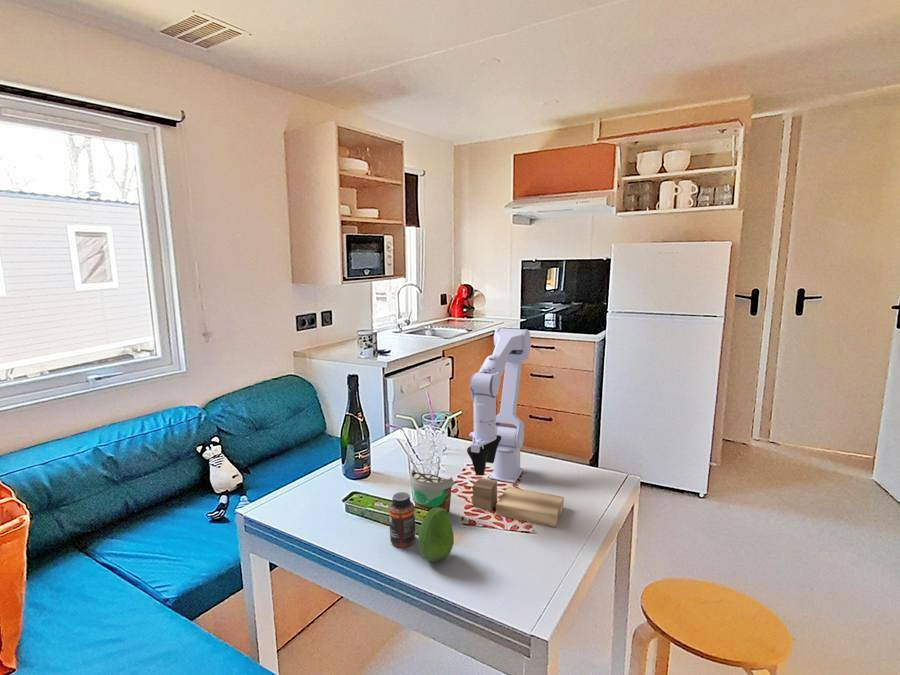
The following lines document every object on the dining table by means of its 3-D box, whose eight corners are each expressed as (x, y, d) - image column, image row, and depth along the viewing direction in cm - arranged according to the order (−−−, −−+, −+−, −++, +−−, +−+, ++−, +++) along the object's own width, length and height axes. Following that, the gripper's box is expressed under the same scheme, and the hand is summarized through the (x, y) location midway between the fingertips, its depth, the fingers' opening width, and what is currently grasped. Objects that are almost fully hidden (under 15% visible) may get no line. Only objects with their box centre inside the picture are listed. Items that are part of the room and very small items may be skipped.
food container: (401, 513, 127) (399, 477, 125) (413, 502, 132) (412, 467, 131) (443, 525, 121) (442, 487, 120) (454, 513, 127) (454, 477, 125)
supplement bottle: (420, 537, 117) (419, 492, 115) (407, 551, 111) (405, 504, 109) (398, 531, 119) (397, 487, 117) (385, 544, 114) (383, 499, 112)
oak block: (508, 496, 135) (508, 486, 134) (563, 507, 129) (563, 496, 128) (496, 514, 126) (496, 504, 125) (555, 527, 120) (555, 515, 119)
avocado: (461, 561, 107) (460, 510, 105) (430, 574, 103) (428, 522, 101) (441, 543, 114) (440, 495, 112) (411, 555, 110) (410, 505, 108)
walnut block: (479, 498, 134) (479, 477, 133) (497, 501, 132) (497, 480, 131) (472, 507, 130) (472, 485, 129) (490, 510, 128) (490, 489, 127)
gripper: (479, 408, 135) (480, 455, 137) (459, 425, 122) (460, 477, 124) (504, 411, 132) (504, 459, 135) (486, 429, 119) (486, 482, 122)
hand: (484, 468), depth 129 cm, fingers open, 7 cm apart
